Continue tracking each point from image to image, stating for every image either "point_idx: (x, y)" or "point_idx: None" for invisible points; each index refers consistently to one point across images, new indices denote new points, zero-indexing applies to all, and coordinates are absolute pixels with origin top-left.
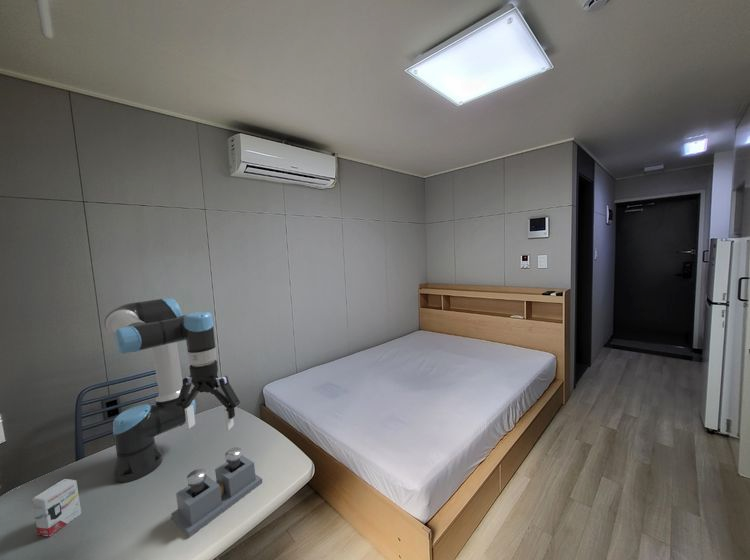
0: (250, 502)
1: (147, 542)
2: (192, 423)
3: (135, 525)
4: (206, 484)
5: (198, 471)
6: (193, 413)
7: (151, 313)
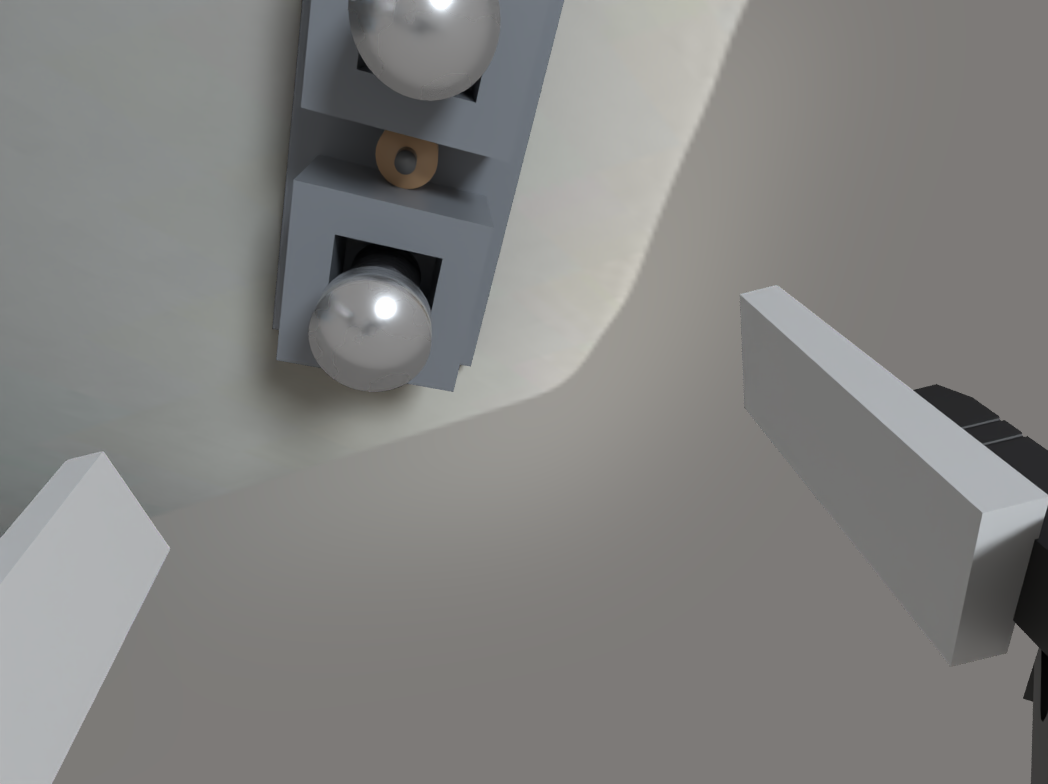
0: (610, 101)
1: (314, 423)
2: (114, 519)
3: (153, 396)
4: (390, 245)
5: (356, 315)
6: (4, 608)
7: None
